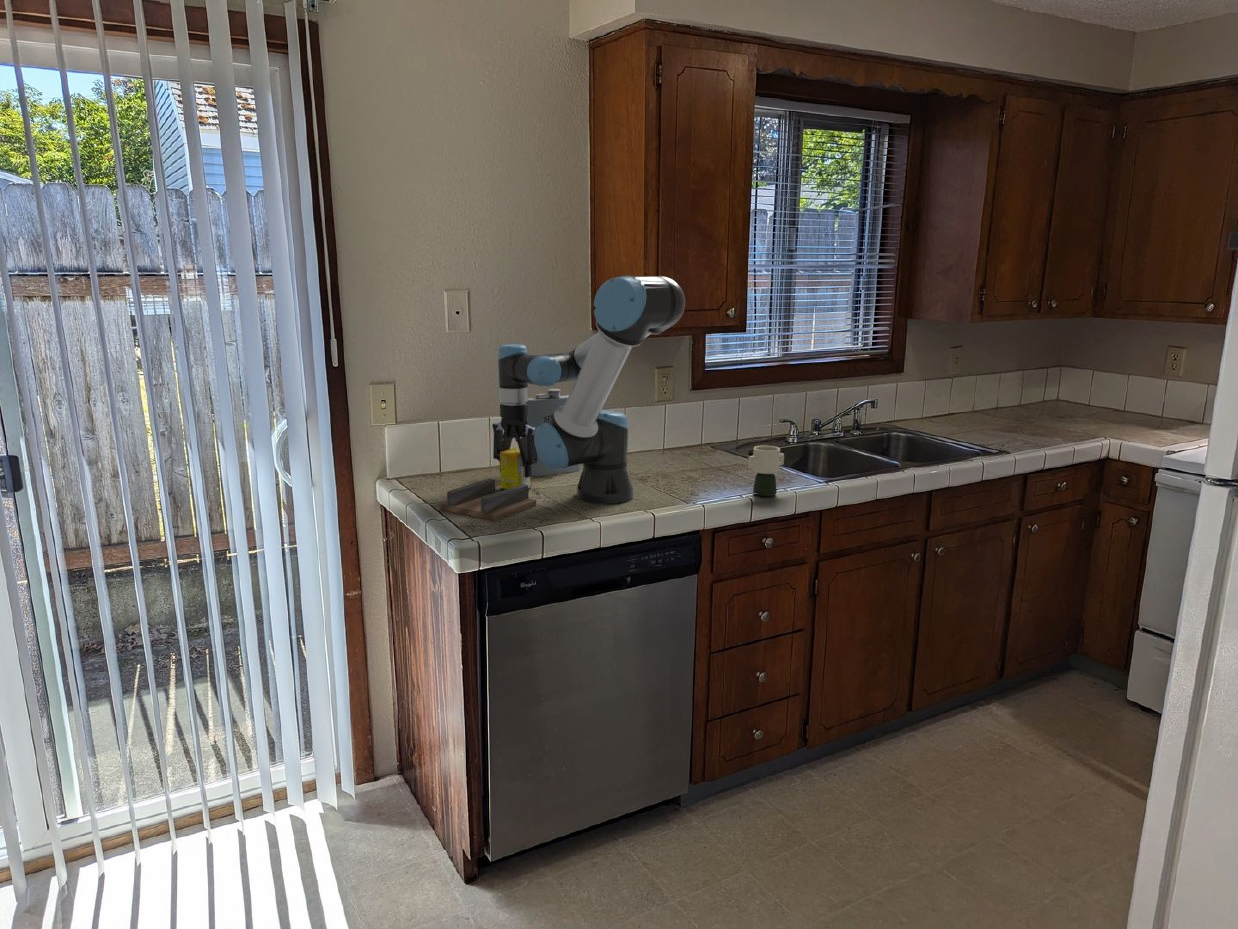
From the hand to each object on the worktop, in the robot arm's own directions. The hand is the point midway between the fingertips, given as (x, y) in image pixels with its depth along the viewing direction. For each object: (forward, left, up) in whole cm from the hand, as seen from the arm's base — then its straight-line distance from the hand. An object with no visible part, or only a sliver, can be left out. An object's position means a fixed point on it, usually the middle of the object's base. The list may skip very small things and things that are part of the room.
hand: (515, 486), depth 235 cm
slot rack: (-5, +17, -1) cm, 18 cm away
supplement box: (0, 0, -1) cm, 1 cm away
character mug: (-59, -33, -1) cm, 68 cm away
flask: (+3, -22, -1) cm, 22 cm away
